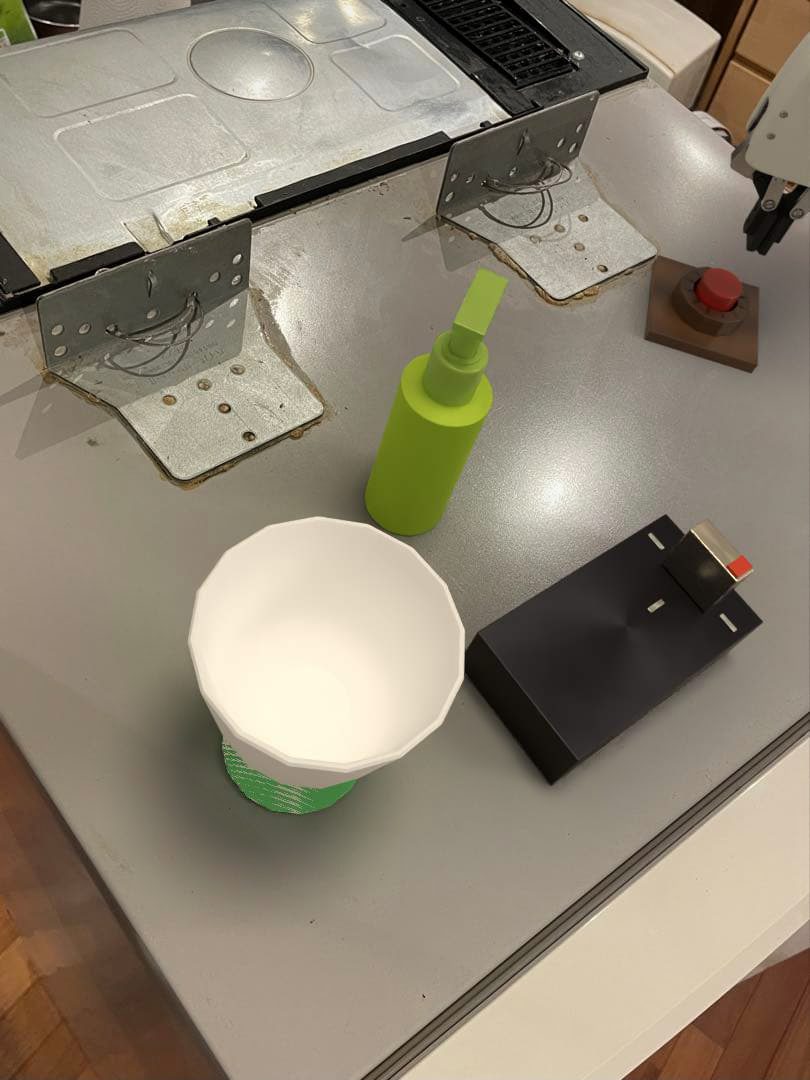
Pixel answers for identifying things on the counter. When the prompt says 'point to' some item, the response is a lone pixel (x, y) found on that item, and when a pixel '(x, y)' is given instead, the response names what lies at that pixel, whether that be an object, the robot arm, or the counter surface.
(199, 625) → the cup
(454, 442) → the soap dispenser
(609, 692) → the black switch box
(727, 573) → the red-tipped black block
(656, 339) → the block
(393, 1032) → the counter surface
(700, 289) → the button
